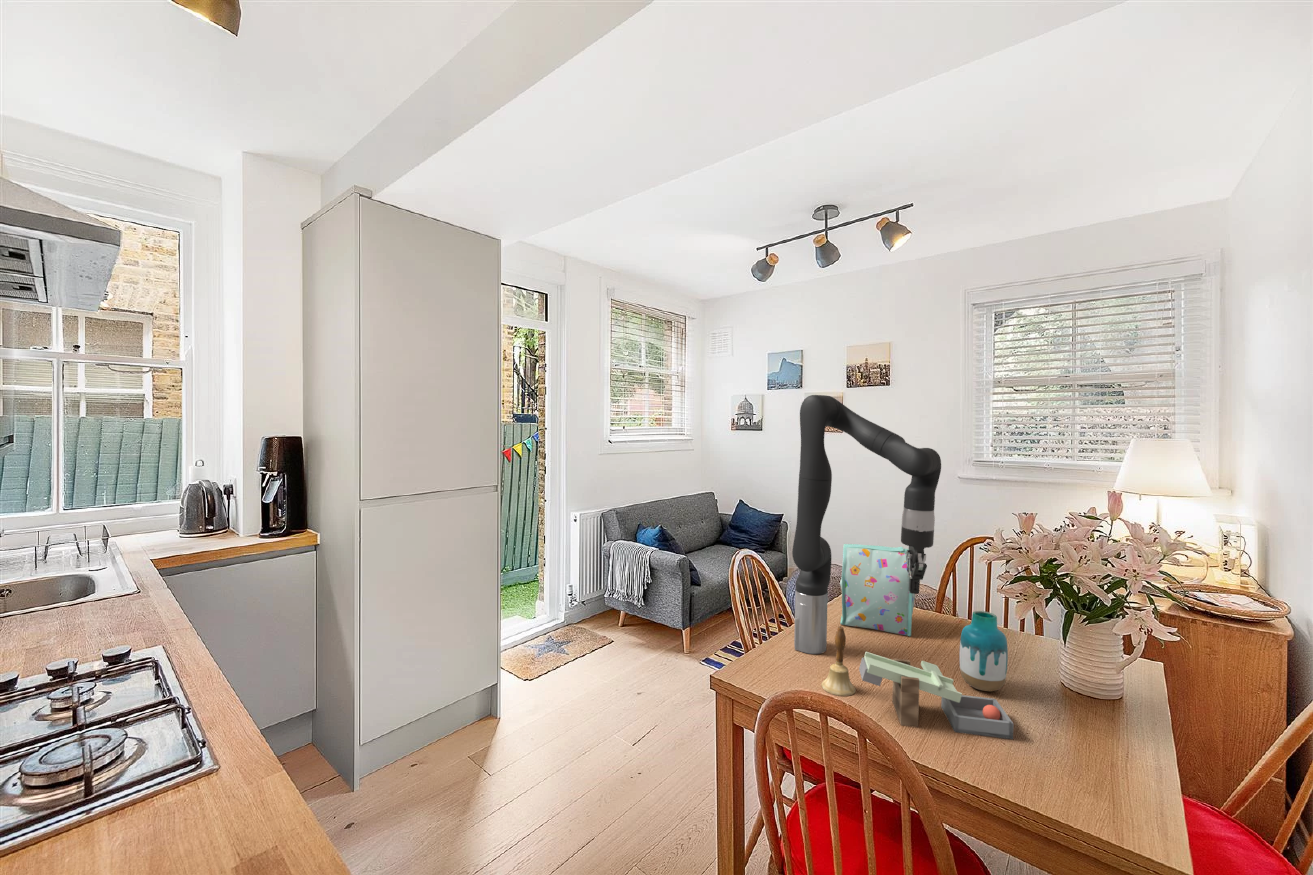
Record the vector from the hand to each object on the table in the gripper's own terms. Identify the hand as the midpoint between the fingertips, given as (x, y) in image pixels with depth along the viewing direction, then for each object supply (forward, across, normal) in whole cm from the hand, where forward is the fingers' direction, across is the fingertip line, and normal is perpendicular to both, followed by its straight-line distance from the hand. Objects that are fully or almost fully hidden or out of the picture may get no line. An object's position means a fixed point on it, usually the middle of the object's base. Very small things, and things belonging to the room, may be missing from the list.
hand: (913, 592), depth 142 cm
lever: (+18, +11, -4) cm, 22 cm away
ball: (+21, +15, +14) cm, 30 cm away
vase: (+24, -3, +18) cm, 30 cm away
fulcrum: (+24, +15, -4) cm, 29 cm away
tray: (+24, +15, +11) cm, 30 cm away
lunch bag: (+25, -41, -2) cm, 48 cm away
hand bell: (+25, +6, -18) cm, 31 cm away
